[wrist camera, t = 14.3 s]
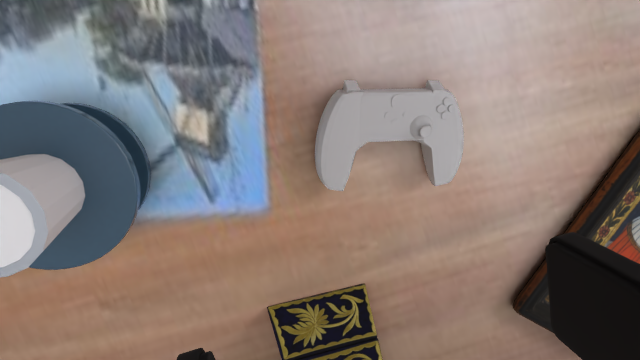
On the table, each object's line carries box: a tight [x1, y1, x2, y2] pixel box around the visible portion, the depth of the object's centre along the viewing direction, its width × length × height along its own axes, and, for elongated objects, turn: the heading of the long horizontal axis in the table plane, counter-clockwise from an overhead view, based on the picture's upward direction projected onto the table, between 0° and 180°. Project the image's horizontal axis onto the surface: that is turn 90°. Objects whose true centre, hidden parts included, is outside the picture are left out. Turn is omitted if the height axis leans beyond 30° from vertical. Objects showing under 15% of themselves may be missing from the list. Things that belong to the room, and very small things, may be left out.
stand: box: [0, 101, 151, 270], centre depth 32 cm, size 13×13×6 cm
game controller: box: [315, 80, 464, 191], centre depth 36 cm, size 14×4×10 cm
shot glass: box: [0, 154, 85, 277], centre depth 25 cm, size 7×7×7 cm
